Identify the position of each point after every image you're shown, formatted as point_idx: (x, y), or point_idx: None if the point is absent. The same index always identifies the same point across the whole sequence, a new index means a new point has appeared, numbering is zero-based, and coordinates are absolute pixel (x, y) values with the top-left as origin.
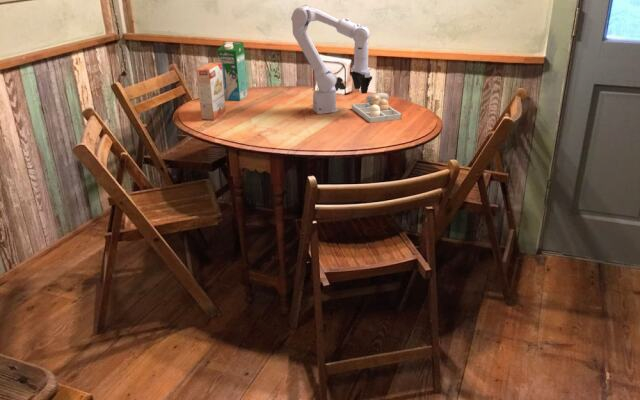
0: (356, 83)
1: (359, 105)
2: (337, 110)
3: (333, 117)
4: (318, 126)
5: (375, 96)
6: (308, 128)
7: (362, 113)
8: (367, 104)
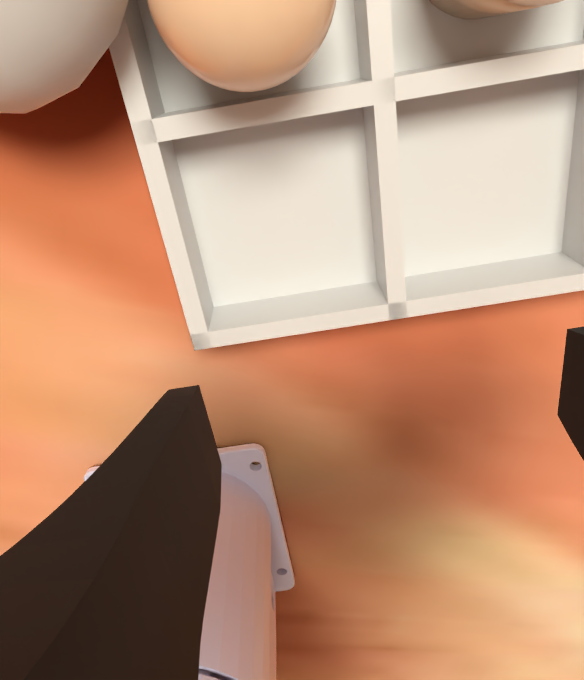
0: (196, 539)
1: (191, 248)
2: (246, 459)
3: (402, 496)
4: (572, 595)
5: (302, 8)
6: (581, 640)
7: (556, 287)
8: (194, 135)
